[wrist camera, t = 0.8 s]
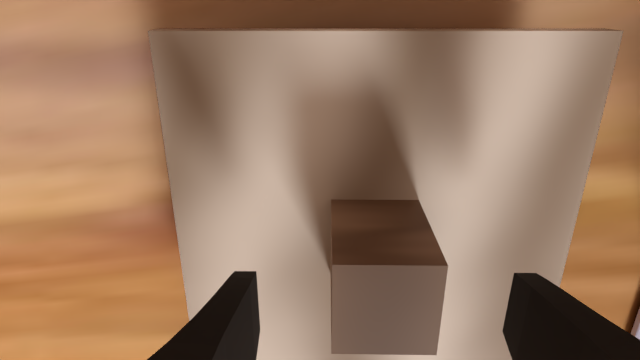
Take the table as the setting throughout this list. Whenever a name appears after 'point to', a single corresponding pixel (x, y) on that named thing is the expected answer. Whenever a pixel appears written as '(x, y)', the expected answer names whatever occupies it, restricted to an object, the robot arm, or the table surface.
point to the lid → (378, 176)
